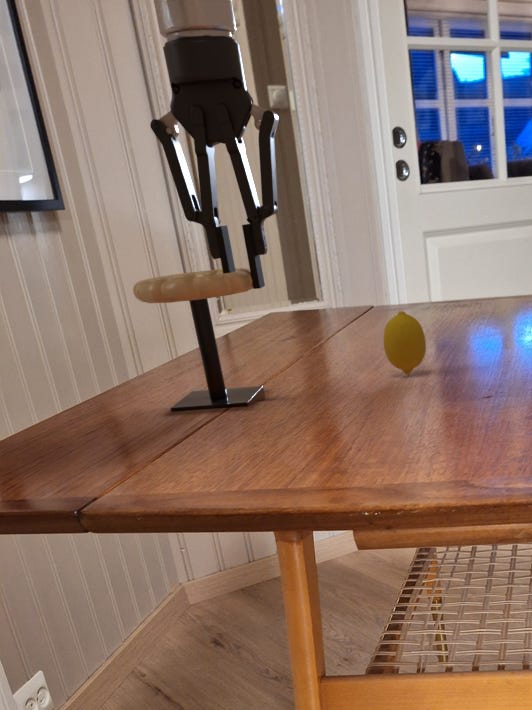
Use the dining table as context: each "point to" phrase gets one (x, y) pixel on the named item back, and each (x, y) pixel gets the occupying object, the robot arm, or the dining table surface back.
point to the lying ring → (193, 286)
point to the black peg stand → (213, 371)
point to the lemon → (404, 342)
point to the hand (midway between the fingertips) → (246, 287)
